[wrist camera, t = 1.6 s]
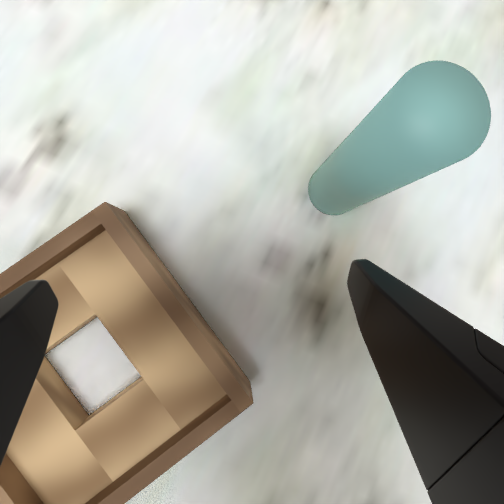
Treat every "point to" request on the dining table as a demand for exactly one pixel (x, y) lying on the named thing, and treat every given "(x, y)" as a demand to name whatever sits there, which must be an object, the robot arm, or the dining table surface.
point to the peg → (405, 137)
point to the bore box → (141, 356)
